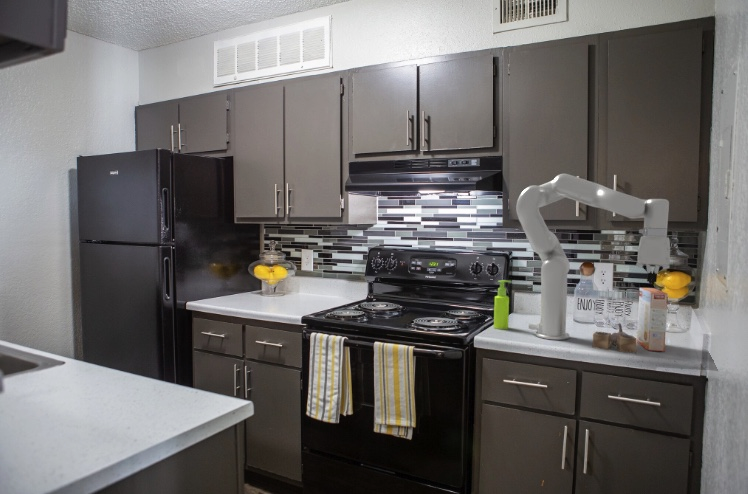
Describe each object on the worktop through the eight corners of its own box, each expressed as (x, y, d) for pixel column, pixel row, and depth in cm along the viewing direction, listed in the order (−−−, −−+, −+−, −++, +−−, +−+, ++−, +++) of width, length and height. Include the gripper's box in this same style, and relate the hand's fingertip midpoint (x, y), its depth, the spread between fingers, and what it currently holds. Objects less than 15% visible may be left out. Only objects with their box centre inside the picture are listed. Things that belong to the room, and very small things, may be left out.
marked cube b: (592, 347, 193) (593, 333, 193) (595, 344, 197) (596, 330, 197) (607, 349, 190) (608, 335, 190) (610, 347, 194) (610, 332, 194)
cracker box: (665, 352, 187) (668, 292, 186) (647, 351, 189) (650, 292, 187) (653, 342, 201) (656, 287, 200) (636, 341, 202) (638, 287, 201)
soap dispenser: (512, 329, 222) (514, 281, 221) (496, 329, 221) (498, 281, 220) (507, 326, 228) (508, 279, 227) (491, 326, 227) (492, 279, 226)
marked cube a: (620, 351, 187) (621, 337, 187) (616, 348, 192) (617, 333, 192) (635, 352, 186) (636, 337, 186) (631, 349, 191) (632, 334, 191)
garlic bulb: (611, 346, 195) (611, 324, 195) (606, 341, 203) (607, 320, 202) (633, 347, 194) (634, 325, 193) (628, 342, 201) (629, 321, 200)
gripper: (632, 232, 192) (628, 283, 193) (679, 234, 186) (675, 287, 187) (631, 232, 199) (628, 281, 200) (677, 234, 193) (674, 284, 194)
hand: (651, 283), depth 194 cm, fingers closed
